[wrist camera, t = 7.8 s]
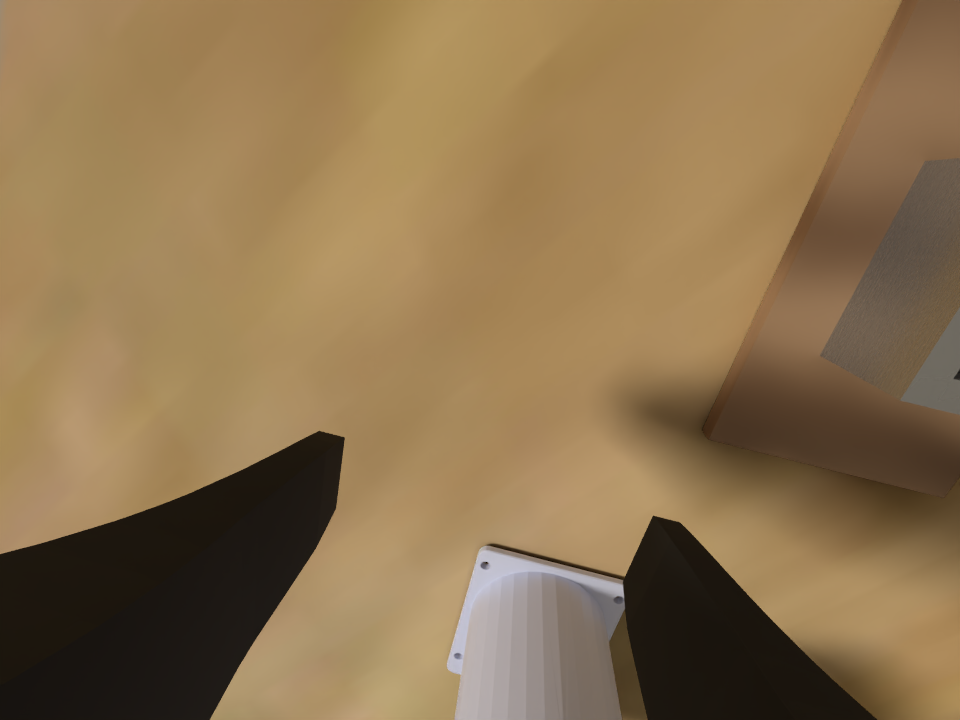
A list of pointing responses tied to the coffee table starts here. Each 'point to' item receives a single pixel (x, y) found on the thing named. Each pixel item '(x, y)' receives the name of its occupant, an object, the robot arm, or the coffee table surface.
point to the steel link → (910, 299)
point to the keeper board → (853, 280)
